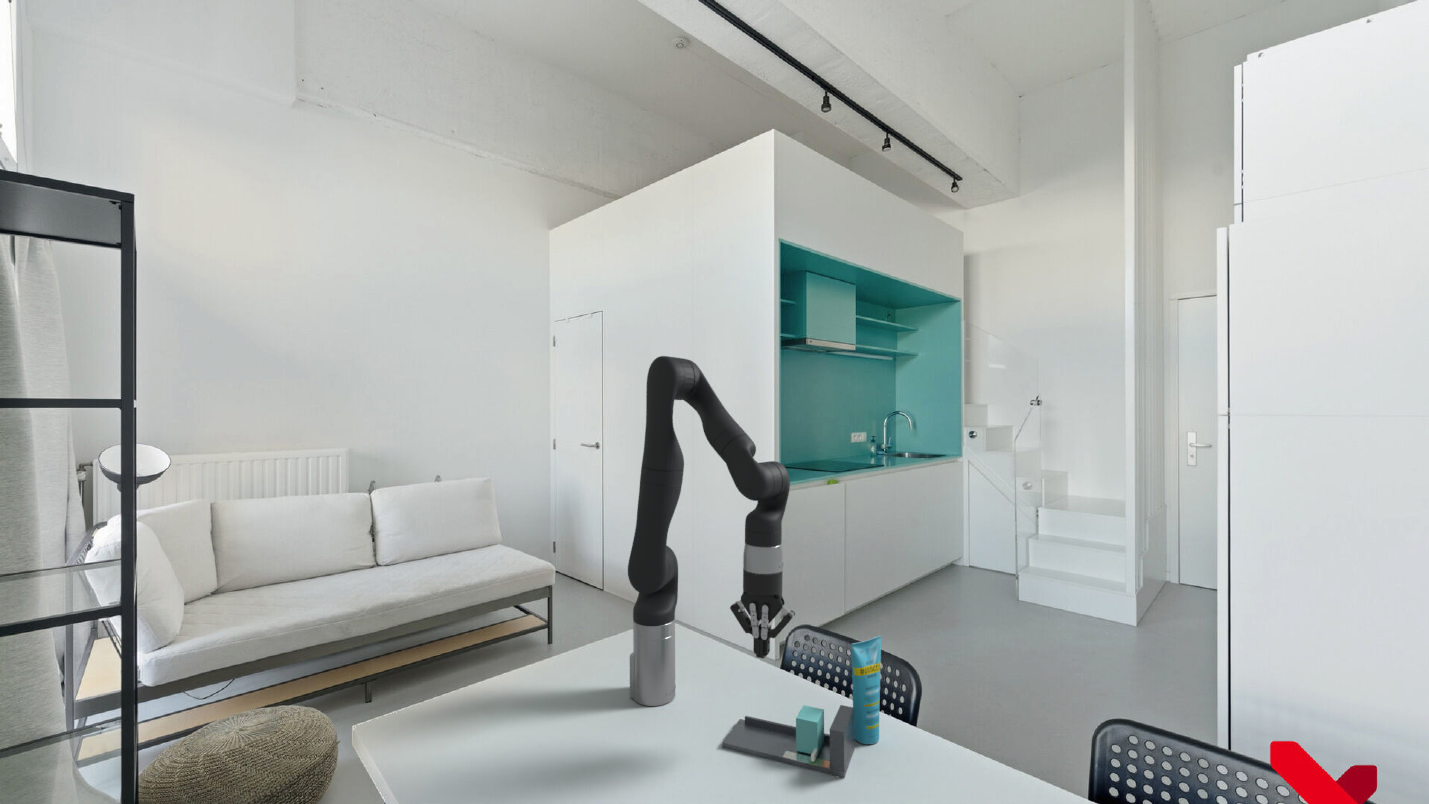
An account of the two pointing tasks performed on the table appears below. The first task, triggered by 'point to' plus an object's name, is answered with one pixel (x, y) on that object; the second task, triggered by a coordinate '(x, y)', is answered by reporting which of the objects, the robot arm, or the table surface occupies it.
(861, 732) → the tube
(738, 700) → the table surface
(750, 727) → the base
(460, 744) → the table surface
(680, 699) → the table surface
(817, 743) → the block
